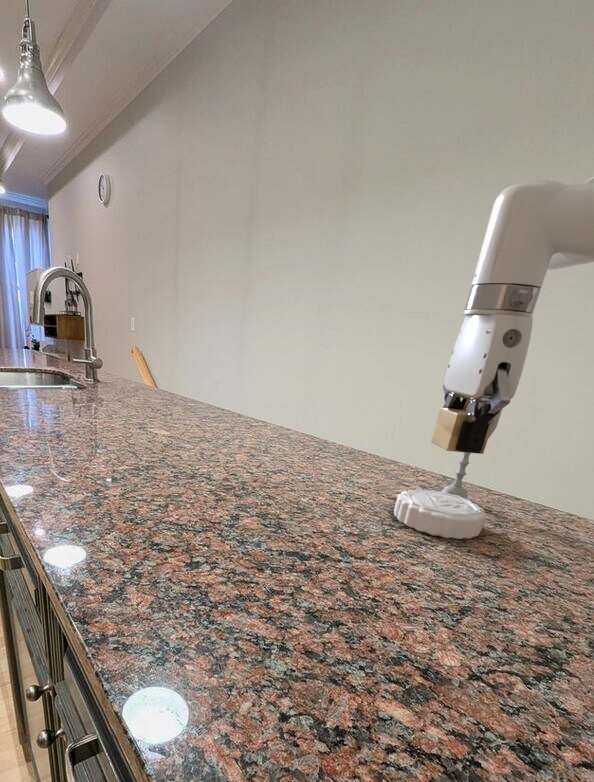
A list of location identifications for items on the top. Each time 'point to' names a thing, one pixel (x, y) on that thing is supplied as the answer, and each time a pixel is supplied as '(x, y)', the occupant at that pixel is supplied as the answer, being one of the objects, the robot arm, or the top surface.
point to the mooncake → (439, 513)
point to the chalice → (457, 486)
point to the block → (452, 429)
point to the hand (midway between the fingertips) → (457, 445)
